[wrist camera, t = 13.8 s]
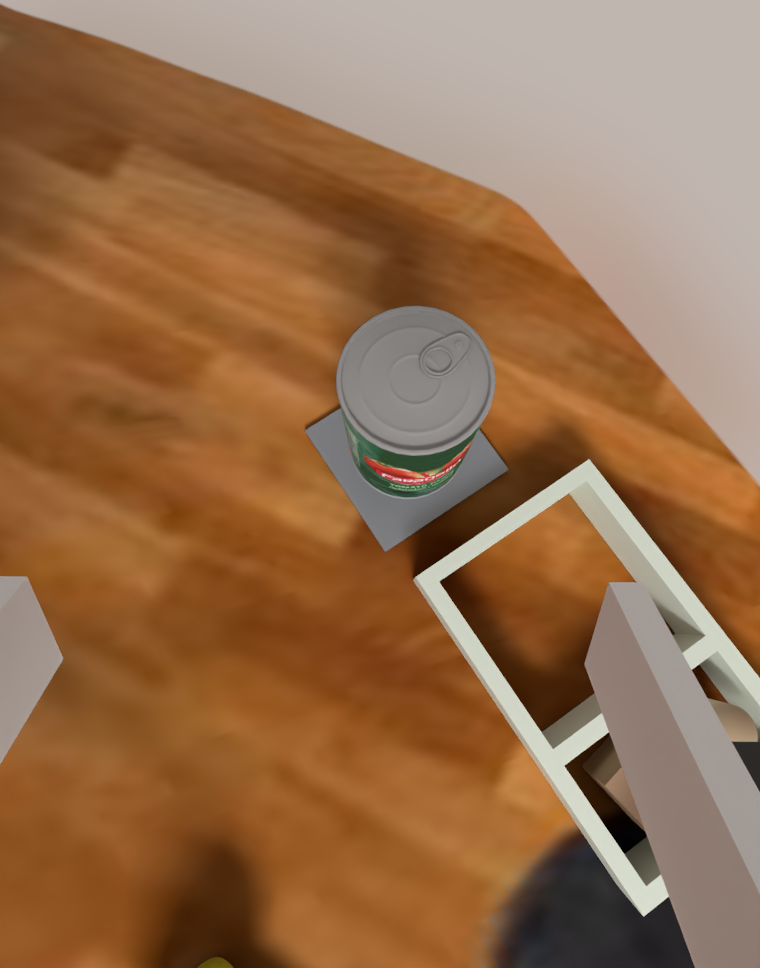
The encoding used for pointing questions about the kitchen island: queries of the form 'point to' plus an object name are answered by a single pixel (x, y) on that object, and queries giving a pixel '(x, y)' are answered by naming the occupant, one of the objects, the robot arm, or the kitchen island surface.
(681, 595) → the caddy
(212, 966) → the dumbbell
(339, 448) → the slate coaster
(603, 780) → the walnut block
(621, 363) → the kitchen island surface
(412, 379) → the canned tomato
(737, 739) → the beech dowel
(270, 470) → the kitchen island surface
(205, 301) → the kitchen island surface
